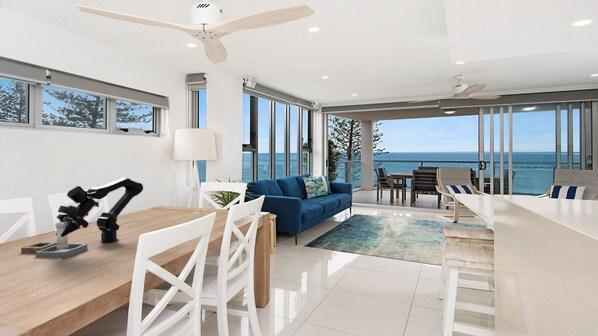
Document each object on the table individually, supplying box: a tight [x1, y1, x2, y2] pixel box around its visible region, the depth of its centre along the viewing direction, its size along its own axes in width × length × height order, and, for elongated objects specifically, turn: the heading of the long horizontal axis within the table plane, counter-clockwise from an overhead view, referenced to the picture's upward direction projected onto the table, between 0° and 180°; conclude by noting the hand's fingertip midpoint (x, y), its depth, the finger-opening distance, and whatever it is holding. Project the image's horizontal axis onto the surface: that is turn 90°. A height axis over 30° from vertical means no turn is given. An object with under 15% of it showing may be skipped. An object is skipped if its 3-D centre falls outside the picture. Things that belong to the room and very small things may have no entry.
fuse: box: [55, 221, 70, 250], centre depth 151 cm, size 5×5×12 cm
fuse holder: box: [20, 241, 57, 254], centre depth 155 cm, size 10×10×3 cm
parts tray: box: [35, 242, 88, 260], centre depth 151 cm, size 14×14×3 cm
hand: (59, 235), depth 149 cm, fingers closed on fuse, 4 cm apart
